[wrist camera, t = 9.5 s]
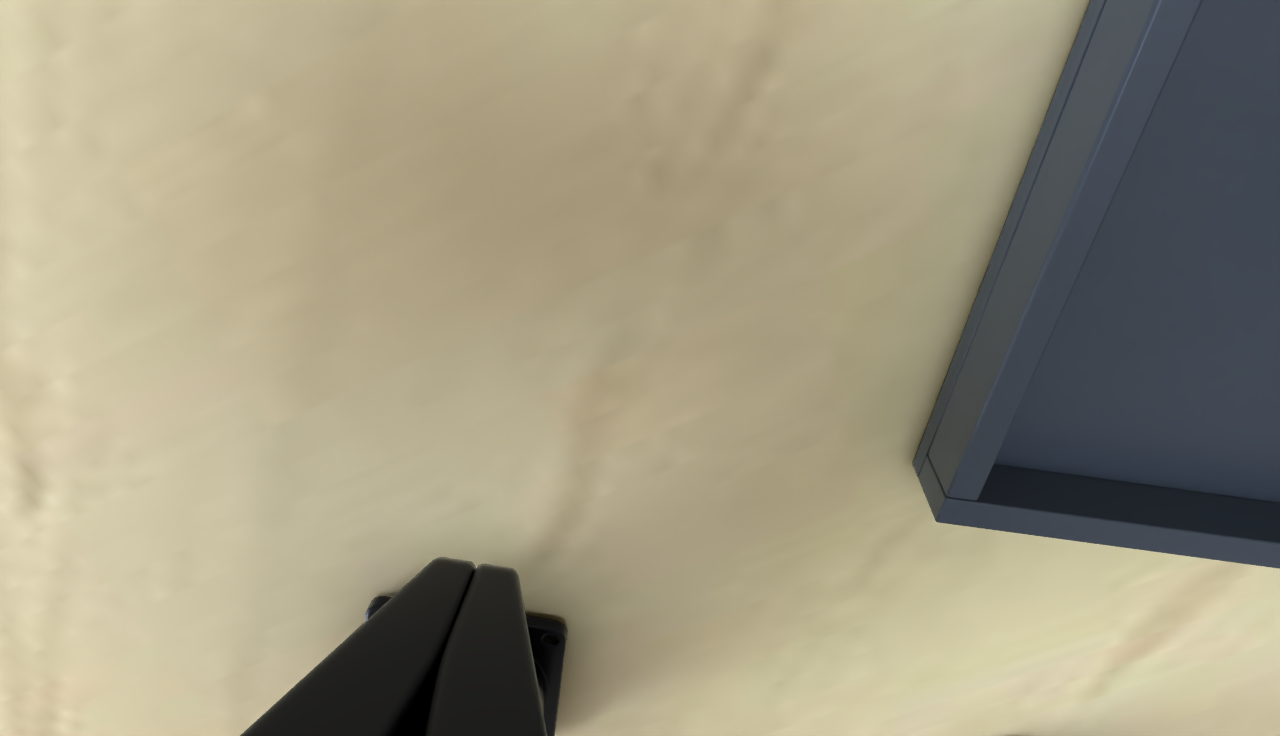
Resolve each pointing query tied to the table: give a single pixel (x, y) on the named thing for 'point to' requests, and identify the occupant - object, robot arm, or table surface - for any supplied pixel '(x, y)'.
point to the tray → (1133, 301)
